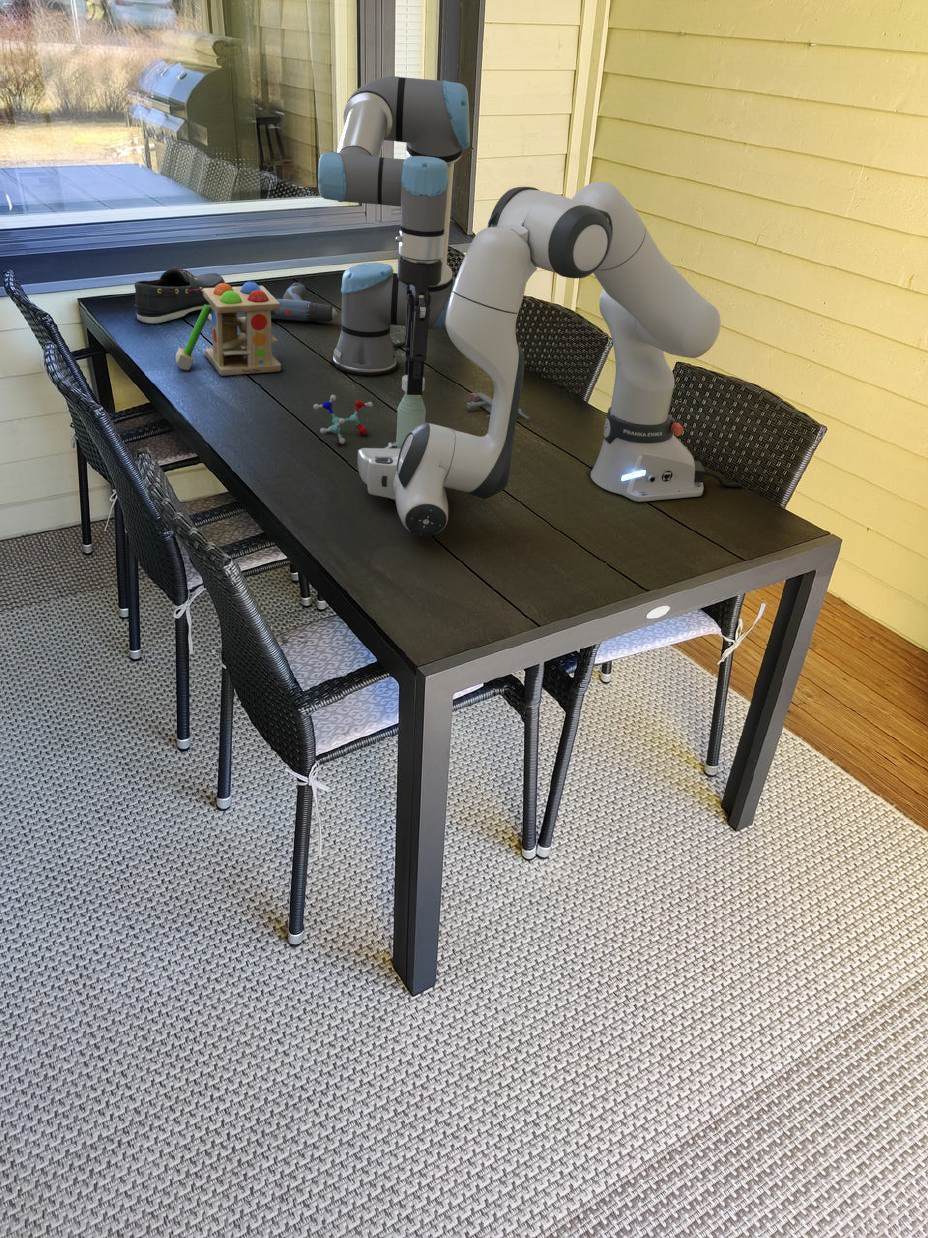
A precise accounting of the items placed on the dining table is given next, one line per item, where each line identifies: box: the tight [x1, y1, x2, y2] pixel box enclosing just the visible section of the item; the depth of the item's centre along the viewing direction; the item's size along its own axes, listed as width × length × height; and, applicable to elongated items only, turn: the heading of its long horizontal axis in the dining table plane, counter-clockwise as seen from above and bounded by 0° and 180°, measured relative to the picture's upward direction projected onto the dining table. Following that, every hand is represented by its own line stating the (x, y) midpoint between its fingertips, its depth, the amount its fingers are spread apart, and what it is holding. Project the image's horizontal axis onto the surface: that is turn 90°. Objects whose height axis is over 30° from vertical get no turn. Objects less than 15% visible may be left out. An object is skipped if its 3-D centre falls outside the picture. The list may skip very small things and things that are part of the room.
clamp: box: [466, 391, 531, 421], centre depth 219 cm, size 15×2×10 cm
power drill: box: [271, 282, 338, 322], centre depth 265 cm, size 5×19×20 cm
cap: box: [401, 374, 426, 392], centre depth 179 cm, size 4×4×2 cm
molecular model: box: [312, 394, 374, 445], centre depth 201 cm, size 12×10×10 cm
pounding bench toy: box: [174, 281, 282, 377], centre depth 225 cm, size 23×14×18 cm, turn 116°
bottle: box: [395, 391, 427, 449], centre depth 184 cm, size 5×5×19 cm
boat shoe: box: [133, 267, 226, 324], centre depth 260 cm, size 13×33×10 cm, turn 147°
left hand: (412, 388), depth 180 cm, fingers closed on cap, 4 cm apart
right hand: (408, 446), depth 187 cm, fingers closed on bottle, 5 cm apart
